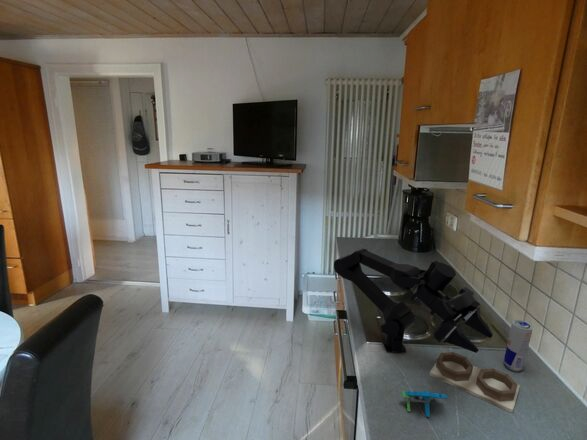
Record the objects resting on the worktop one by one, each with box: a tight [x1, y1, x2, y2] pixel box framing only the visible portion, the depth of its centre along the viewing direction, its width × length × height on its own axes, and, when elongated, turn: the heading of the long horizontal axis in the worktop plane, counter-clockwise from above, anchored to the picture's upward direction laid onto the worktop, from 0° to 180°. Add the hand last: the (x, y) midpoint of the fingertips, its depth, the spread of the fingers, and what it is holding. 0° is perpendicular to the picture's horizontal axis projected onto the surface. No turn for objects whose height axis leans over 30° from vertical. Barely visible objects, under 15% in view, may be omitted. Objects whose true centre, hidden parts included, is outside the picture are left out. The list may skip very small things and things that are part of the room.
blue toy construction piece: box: [401, 389, 448, 417], centre depth 89 cm, size 11×6×10 cm
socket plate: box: [429, 351, 521, 414], centre depth 98 cm, size 21×11×4 cm, turn 50°
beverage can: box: [503, 319, 533, 372], centre depth 102 cm, size 5×5×15 cm
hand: (484, 343), depth 90 cm, fingers open, 9 cm apart
